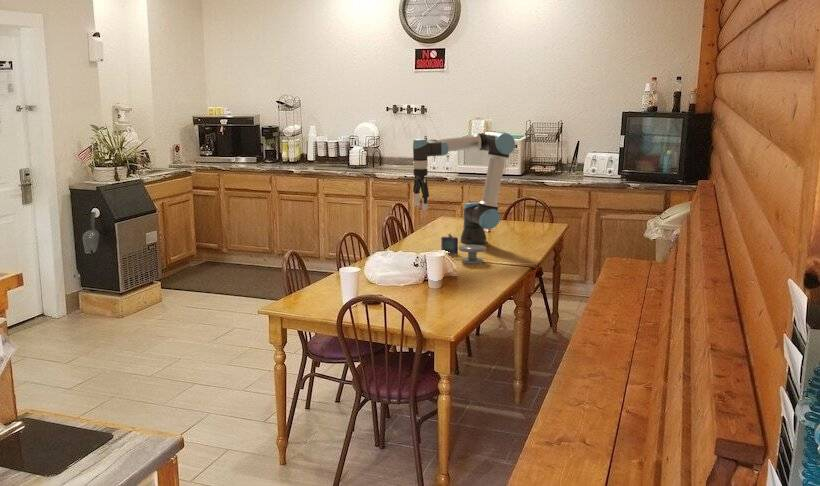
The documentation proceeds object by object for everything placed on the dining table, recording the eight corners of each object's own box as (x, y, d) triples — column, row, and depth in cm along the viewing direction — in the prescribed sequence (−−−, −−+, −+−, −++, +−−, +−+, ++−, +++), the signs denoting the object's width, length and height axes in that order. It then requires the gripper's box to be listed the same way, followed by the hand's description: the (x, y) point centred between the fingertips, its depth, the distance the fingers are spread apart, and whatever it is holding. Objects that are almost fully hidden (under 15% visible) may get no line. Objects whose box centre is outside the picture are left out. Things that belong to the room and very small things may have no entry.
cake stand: (479, 257, 390) (479, 243, 388) (490, 263, 377) (490, 249, 376) (454, 259, 386) (454, 245, 384) (464, 265, 373) (465, 251, 371)
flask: (440, 253, 401) (440, 233, 398) (442, 251, 403) (442, 232, 401) (457, 254, 398) (457, 234, 396) (458, 253, 401) (458, 233, 398)
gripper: (406, 166, 402) (407, 204, 407) (421, 171, 379) (421, 211, 383) (420, 165, 404) (420, 203, 409) (434, 170, 381) (435, 210, 386)
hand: (421, 207), depth 396 cm, fingers open, 13 cm apart
